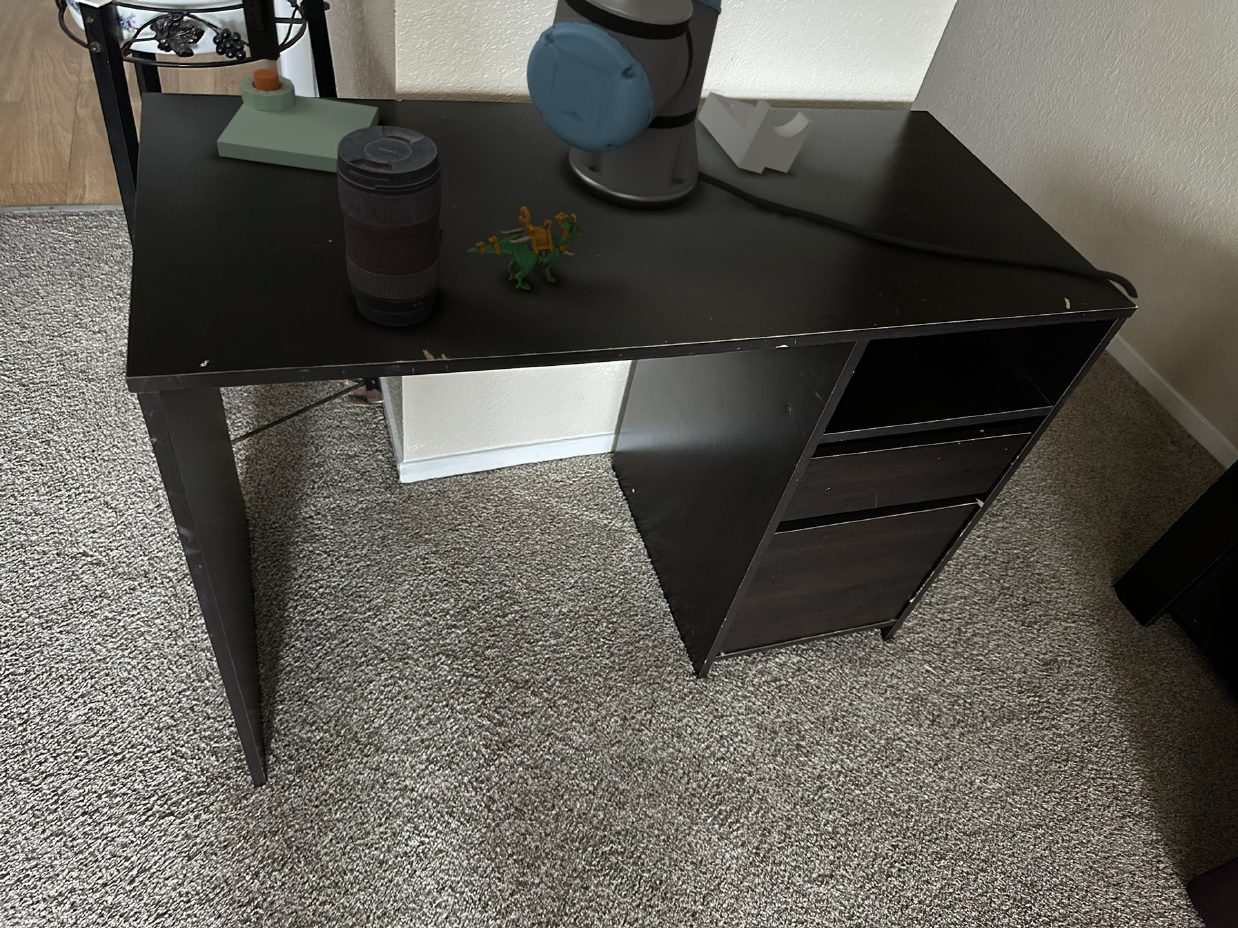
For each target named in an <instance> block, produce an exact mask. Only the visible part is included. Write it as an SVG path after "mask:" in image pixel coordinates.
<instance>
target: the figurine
mask: <svg viewBox="0 0 1238 928" xmlns="http://www.w3.org/2000/svg"><path fill="white" fill-rule="evenodd" d="M519 210H520V216H518V220H519V223H520V224H522V227H521V228H517V229H512V230H508V231H502V230H500V232H501V233H503V234H504V235H511V236H509V237H507V238H504V239H502V240H498V238H497V237H496V235H494V236H492V237H490V238H488V241H489V243H488V244H485V243H484V241H479V242H476V243H475V245H476V246H475V247H471V248H468V249H466V252H467V253H468V254H469V253H470V254H479V255H483V254H494V255H501V254H505V255H508V256H509V257H510V258H511V261H510V263H509V265H508V266H507V269H508V272H509V273H510V277H509V278H508V280H509V281H512V280H513V279H514V280H516V281H517V282H518V284H517V285H516V287H515V288H516V289H519V288H522V289H523V290H531V287H530V284H527V283H528V282H523V279H524V278H525V277H526V276H528V275H529V274H531V272H532V271H533V269H534V267H537V268H538V270H540V272H541V273H542V274H544V276H545V278H547V281H548V282H552V283H556V278H555V277H551V276H552V275H551V272H550V269H551V268H552V267H553V266H554V265H555V264H556V262H557V260H558V259H559V258H560V255H564V256H566V257H567V256H568V257H570V256H573V255H574V254H575V252H573V253H571V252H569V251H567V249H568V248H569V240H570V234H577V236H579V237H580V236H582V229H581V227H580V225H579V222H578V221H577V216H576V215H575V214H574V213H571V215H570V216H568V214H565V213H564V212H560V213H559V214H557V215H555V220H556V221H557V224H558V225H560V226H559V228H558V231H557V232H556V235H553V234H552V233H551V231H550V230H551V227H552V223H553V221H552V220H550V219H545V220H544V223H543V224H544V225H543V226H533V224H532V222H531V215H530V211H529V210H528V208H527V207H526V206H524V205H522V206H521V207H520V209H519ZM563 221H567V222H565V223H563ZM516 266H519V267H520V270H519V271H518V272H517V271H516V269H515V267H516ZM544 266H545V267H544Z"/></svg>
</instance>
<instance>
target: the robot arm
mask: <svg viewBox="0 0 1238 928" xmlns="http://www.w3.org/2000/svg"><path fill="white" fill-rule="evenodd" d="M722 1H723V0H557V3H556V7H555V13H554V18H553V21H552V25H551V26H549V27H547V28H546V29H544V30H543V31H542V32H541V34H540V35H539V37H538V40H536V41H535V43H534V45H533V47H532V49H531V50H530V53H529V56H528V58H527V59H528V61H527V65H526V84H527V89H528V93H529V97H530V99H531V102H532V105H533V107H534V109H535V110H536V111H538V113H539V115H540V117H541V118H542V122H543V123H544V124H545V126H546V127H547V128H548V129H549V130H550V132H552V133H553V134H554V135H555V136H556V138H559V139H560V140H561V141H563V142H564V143H566V144H568V145H569V146H570V148H569V150H568V158H567V159H568V161H567V172H568V174H569V176H570V178H571V180H572V181H573V182H574V183H575V184H576V185H577V186H578V187H579V188H580V189H582V191H584V192H585V193H587V194H588V195H591V196H593V197H594V198H596V199H599V200H601V201H604V202H606V203H609V204H612V205H615V206H619V207H623V208H629V209H635V210H648V211H650V210H651V211H653V210H665V209H670V208H674V207H678V206H681V205H683V204H684V203H686V202H688V201H690V199H691V198H692V197H694V196H695V193H696V190H697V187H698V183H699V181H701V182H704V183H706V184H708V185H711V186H713V187H715V188H718V189H720V190H722V191H724V192H726V193H729V194H731V195H733V196H735V197H737V198H738V199H740V200H743V201H744V202H745V201H746V202H747V203H750V204H752V205H756V206H758V207H761V208H764V209H767V210H771V211H774V212H777V213H779V214H780V213H781V214H785V215H788V216H792V217H796V218H800V219H804V220H808V221H811V222H815V223H819V224H822V225H825V226H829V227H832V228H835V229H838V230H841V231H844V232H848V233H851V234H854V235H857V236H861V237H864V238H867V239H869V240H874V241H878V242H882V243H886V244H891V245H895V246H899V247H903V248H908V249H913V250H919V251H923V252H928V253H936V254H940V255H947V256H953V257H959V258H967V259H974V260H975V259H976V260H982V261H983V260H984V261H991V262H999V263H1000V262H1001V263H1009V264H1015V265H1022V266H1031V267H1039V268H1041V267H1042V268H1047V269H1054V270H1055V269H1056V270H1060V271H1065V272H1069V273H1074V274H1078V275H1082V276H1086V277H1091V278H1092V277H1093V278H1096V279H1097V278H1099V279H1102V280H1107V281H1110V282H1113V283H1116V284H1118V285H1119V286H1121V287H1122V288H1123V289H1124V290H1125V293H1126V294H1127V295H1128V297H1130V298H1132V299H1138V298H1139V297H1138V296H1139V295H1138V292H1137V290H1136V288H1135V286H1134V285H1133V284H1132V282H1130V280H1128V279H1127V278H1126V277H1124V276H1123V275H1121V274H1117V273H1114V272H1111V271H1107V270H1101V269H1096V268H1090V267H1085V266H1081V265H1077V264H1074V263H1069V262H1065V261H1060V260H1059V261H1058V260H1053V259H1045V258H1037V257H1030V256H1029V257H1028V256H1020V255H1013V254H1006V253H1000V252H999V253H997V252H989V251H982V250H981V251H980V250H973V249H965V248H960V247H959V248H958V247H953V246H945V245H940V244H933V243H928V242H923V241H917V240H913V239H907V238H903V237H900V236H899V237H898V236H894V235H890V234H887V233H886V234H885V233H882V232H879V231H875V230H871V229H868V228H864V227H861V226H858V225H854V224H852V223H848V222H845V221H841V220H839V219H836V218H832V217H829V216H825V215H822V214H819V213H815V212H811V211H809V210H808V211H807V210H804V209H800V208H796V207H792V206H788V205H784V204H780V203H777V202H773V201H770V200H767V199H765V198H764V199H763V198H762V197H758V196H756V195H753V194H751V193H748V192H747V191H745V190H742V189H740V188H738V187H736V186H734V185H732V184H730V183H728V182H725V181H723V180H721V179H719V178H717V177H715V176H712V175H710V174H708V173H705V172H703V171H701V170H700V163H699V153H698V141H697V132H696V119H697V114H698V109H699V105H700V101H701V97H702V93H703V88H704V84H705V78H706V74H707V70H708V65H709V61H710V56H711V52H712V47H713V42H714V38H715V34H716V29H717V26H718V22H719V21H718V20H719V17H720V16H721V14H722V11H723V9H722ZM241 6H242V12H243V18H244V23H245V24H244V25H245V31H246V36H247V43H248V49H249V57H250V58H253V59H258V60H266V61H273V62H277V61H278V60H279V59H280V57H281V49H280V43H279V42H280V41H279V36H278V35H279V34H278V28H277V20H276V15H275V14H276V12H275V6H274V0H241Z"/></svg>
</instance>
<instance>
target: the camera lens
mask: <svg viewBox="0 0 1238 928" xmlns="http://www.w3.org/2000/svg"><path fill="white" fill-rule="evenodd" d="M337 155H338V156H337V161H336V170H337V173H336V178H337V179H336V180H337V189H338V190H337V191H338V198H339V204H340V210H341V212H342V217H343V227H344V228H343V229H344V238H345V260H346V271H347V276H348V279H349V282H350V283H349V285H350V290H351V293H352V294H353V296H354V298H355V299H356V304H357V308H358V310H359V312H360V313H361V314H362V315H363V316H364V317H365V318H366V319H368V320H369V321H371V322H374V323H377V324H379V325H384V326H390V327H403V326H410V325H414V324H417V323H420V322H422V321H423V320H425V319H426V318H428V317H429V316H430V314H431V313H432V311H433V308H434V301H435V299H436V298H437V296H438V293H439V285H440V284H439V283H440V278H441V250H440V244H441V243H442V242H443V237H444V236H443V235H444V234H443V232H444V231H443V230H444V229H443V224H442V221H441V219H440V215H441V207H442V206H441V205H442V166H441V162H440V159H439V152H438V147H437V145H436V143H435V142H434V140H432V139H431V138H430V137H429V136H426V135H425V134H424V133H422V132H419V131H417V130H413V129H410V128H406V127H400V126H393V125H377V126H372V127H365V128H361V129H358V130H355V131H353V132H350V133H348V134H347V135H346V136H344V137H343V138H342V139H341V140H340V142H339V143H338V147H337Z"/></svg>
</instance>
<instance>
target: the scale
mask: <svg viewBox="0 0 1238 928" xmlns="http://www.w3.org/2000/svg"><path fill="white" fill-rule="evenodd" d="M278 75H279V83H280V89H278V90H275V91H263V90H258V89H256V88H255V83H254V77H253V74H252V75H248V76H245V77H243V78H242V80H241V81H240V82H239V88H240V94H241V100H242V102H243V103H242V105H241V106H240V107H239V109H238V110H237V112H236V113H235V114H234V115H233V118H231V120H230V122H229V123H228V124H227V125H226V127H225V129H224V130H223V131H222V133H221V134H220V136H219V137H218V138H217V140H216V145H217V151H218V156H219V157H223V158H230V159H237V160H244V161H245V160H246V161H252V162H257V163H258V162H260V163H266V164H272V165H273V164H274V165H279V166H281V165H282V166H288V167H295V168H301V169H308V170H317V171H321V172H330V173H336V174H337V170H336V161H337V156H338V155H337V147H338V143H339V142H340V140H341V139H342V138H343V137H344V136H346V135H347V134H348V133H350V132H353V131H355V130H358V129H361V128H365V127H372V126H378V124H379V122H380V113H379V107H378V106H371V105H364V104H358V103H352V102H345V101H344V102H343V101H337V100H331V99H324V98H317V97H310V96H303V95H298V94H296V90H295V89H296V88H295V84H294V83H293V82H292V80H291V79H290V78H287V77H285V76H282V75H280V74H278Z"/></svg>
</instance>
